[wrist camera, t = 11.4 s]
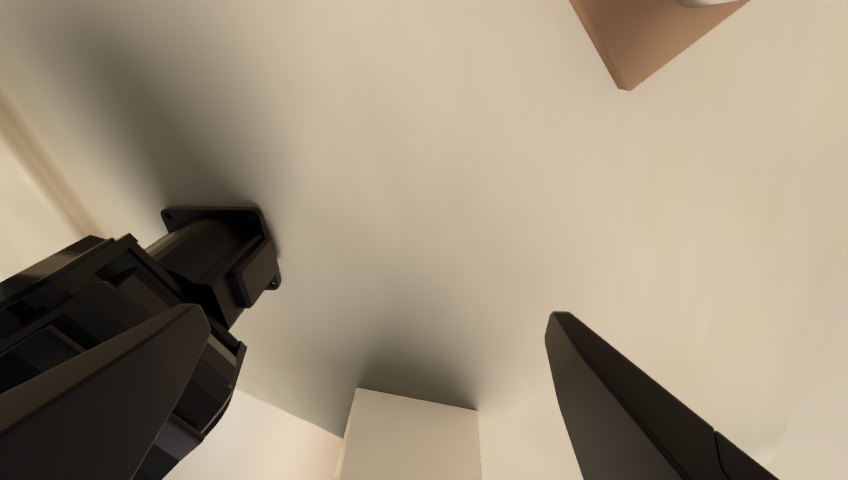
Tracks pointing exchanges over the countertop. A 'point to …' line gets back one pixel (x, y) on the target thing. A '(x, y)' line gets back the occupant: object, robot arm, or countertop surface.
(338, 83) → the countertop surface
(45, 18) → the countertop surface
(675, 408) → the robot arm
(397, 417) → the milk
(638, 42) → the carrier board
